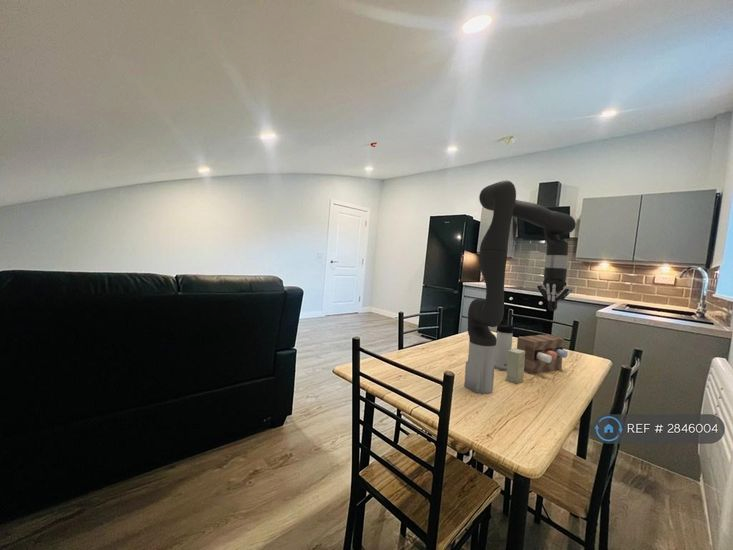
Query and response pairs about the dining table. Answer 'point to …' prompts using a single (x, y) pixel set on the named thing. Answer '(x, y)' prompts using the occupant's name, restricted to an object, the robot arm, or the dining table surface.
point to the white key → (544, 357)
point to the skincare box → (515, 365)
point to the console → (540, 345)
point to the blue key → (561, 353)
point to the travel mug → (503, 346)
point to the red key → (551, 354)
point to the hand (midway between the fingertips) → (552, 310)
